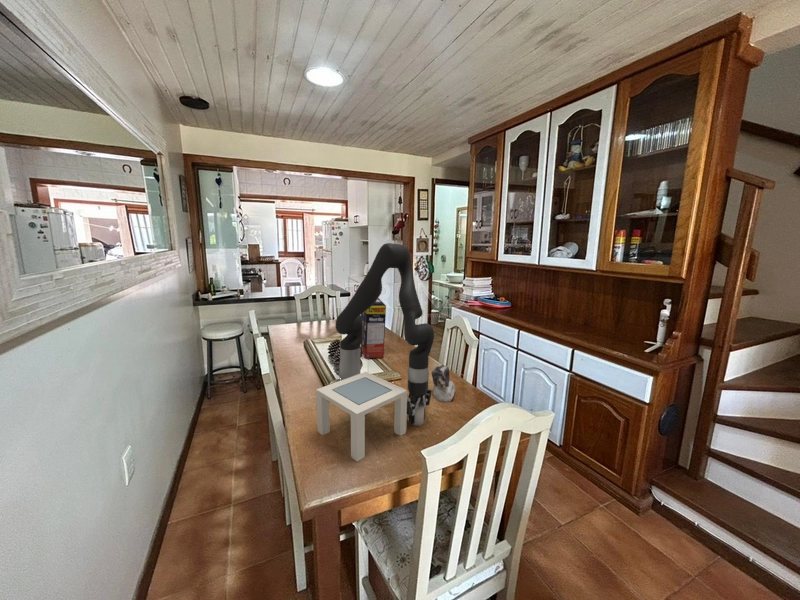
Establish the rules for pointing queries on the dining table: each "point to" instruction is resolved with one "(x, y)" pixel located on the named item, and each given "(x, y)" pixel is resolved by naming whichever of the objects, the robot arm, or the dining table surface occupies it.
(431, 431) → the dining table surface
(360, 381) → the trapdoor
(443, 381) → the stone
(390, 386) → the stand
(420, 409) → the white rounded cylinder
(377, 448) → the dining table surface
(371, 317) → the cereal box
